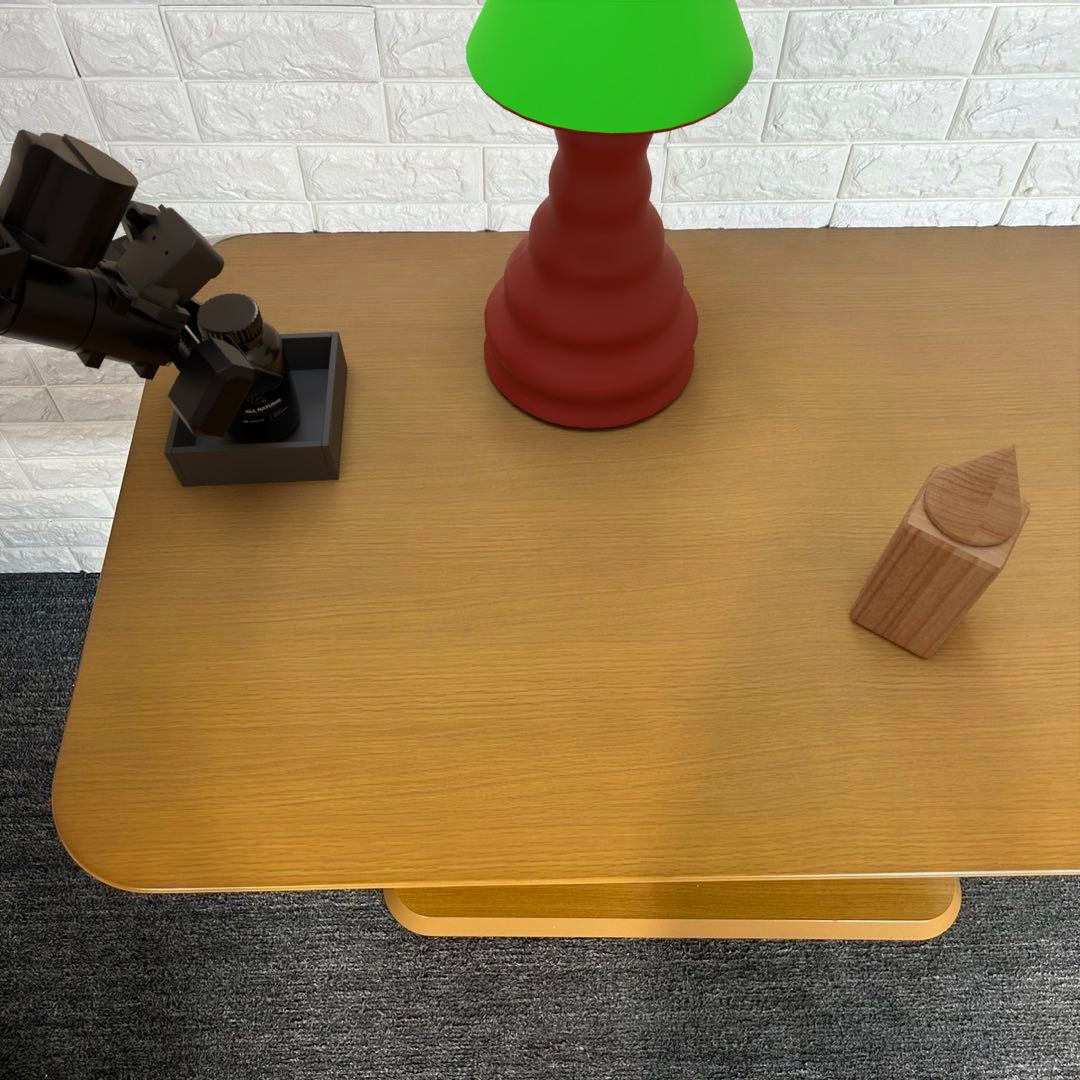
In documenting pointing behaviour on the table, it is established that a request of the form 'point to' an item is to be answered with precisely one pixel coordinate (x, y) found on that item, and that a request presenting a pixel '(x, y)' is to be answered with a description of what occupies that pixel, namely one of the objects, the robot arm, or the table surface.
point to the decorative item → (944, 552)
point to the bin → (296, 454)
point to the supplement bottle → (262, 345)
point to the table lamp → (600, 197)
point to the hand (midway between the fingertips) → (258, 356)
